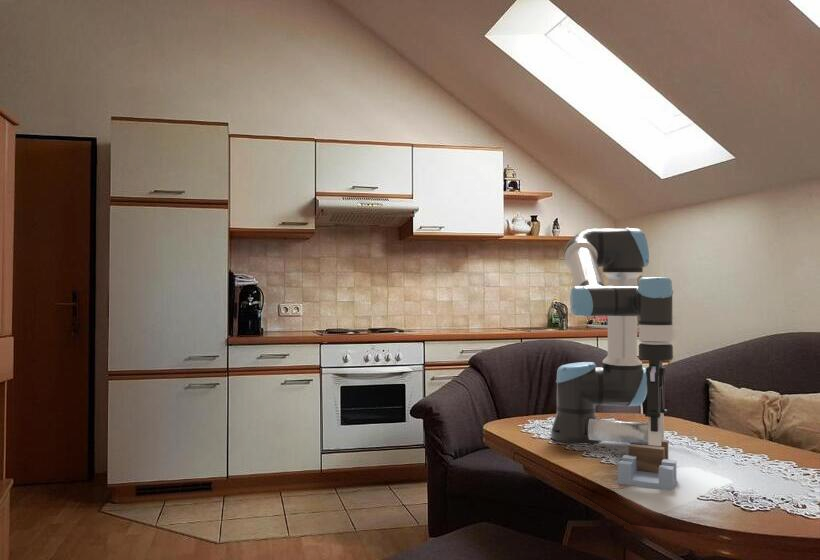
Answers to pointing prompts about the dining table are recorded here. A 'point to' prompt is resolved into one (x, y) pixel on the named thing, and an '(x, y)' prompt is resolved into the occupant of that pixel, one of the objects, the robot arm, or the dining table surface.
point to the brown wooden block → (649, 456)
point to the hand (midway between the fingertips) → (656, 442)
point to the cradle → (647, 474)
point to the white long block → (618, 431)
